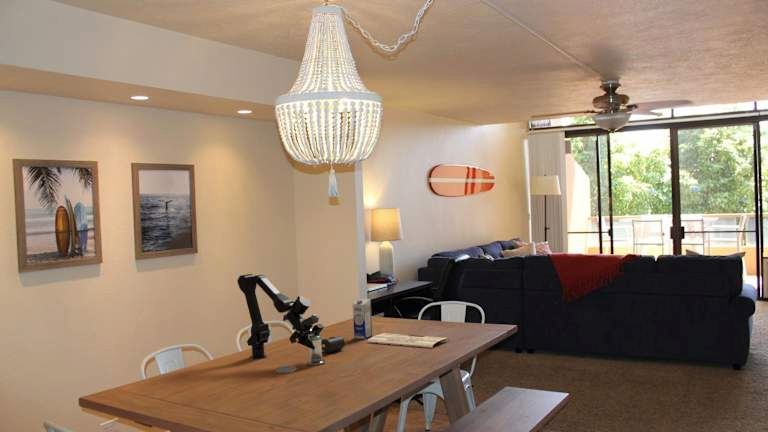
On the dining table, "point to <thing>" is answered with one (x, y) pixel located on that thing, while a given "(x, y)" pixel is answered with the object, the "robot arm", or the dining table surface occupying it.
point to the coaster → (285, 369)
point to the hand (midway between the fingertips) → (318, 347)
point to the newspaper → (406, 340)
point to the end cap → (332, 344)
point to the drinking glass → (316, 346)
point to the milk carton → (362, 319)
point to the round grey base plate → (316, 361)
